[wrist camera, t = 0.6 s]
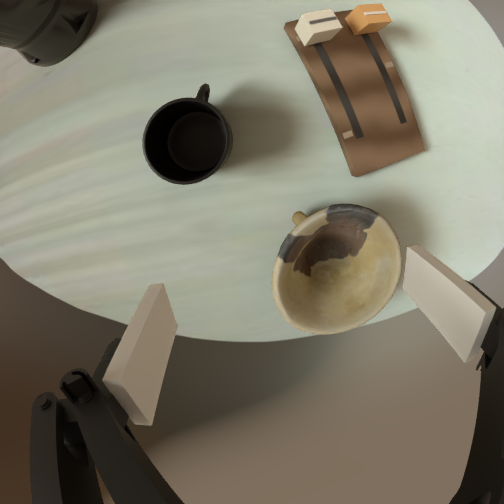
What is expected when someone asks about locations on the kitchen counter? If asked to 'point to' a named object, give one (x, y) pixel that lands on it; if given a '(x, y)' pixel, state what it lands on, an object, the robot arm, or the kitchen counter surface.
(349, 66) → the console board
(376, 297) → the bowl
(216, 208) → the kitchen counter surface
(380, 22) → the orange fader knob
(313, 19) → the cream fader knob
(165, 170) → the mug
